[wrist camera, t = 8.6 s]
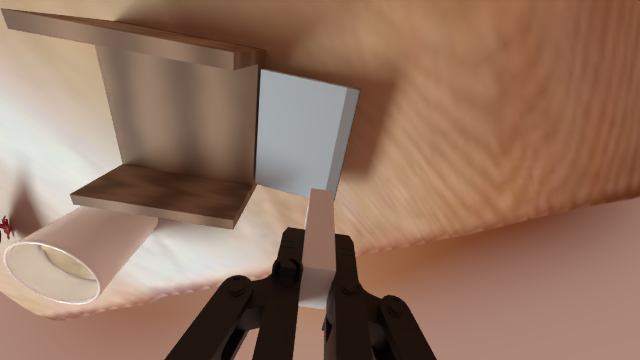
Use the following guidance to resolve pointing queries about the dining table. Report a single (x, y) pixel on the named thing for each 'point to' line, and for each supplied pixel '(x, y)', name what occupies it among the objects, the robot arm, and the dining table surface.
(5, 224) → the decorative bird figurine
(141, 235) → the candle holder
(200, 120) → the small wooden shelf
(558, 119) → the dining table surface
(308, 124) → the pale grey panel
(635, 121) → the dining table surface
